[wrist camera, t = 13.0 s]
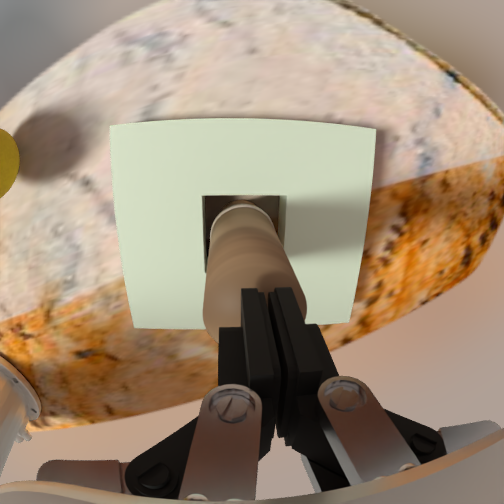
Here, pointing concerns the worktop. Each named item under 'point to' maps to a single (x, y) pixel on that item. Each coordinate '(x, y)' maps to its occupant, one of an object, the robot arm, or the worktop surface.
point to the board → (238, 183)
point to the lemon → (8, 161)
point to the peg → (243, 264)
